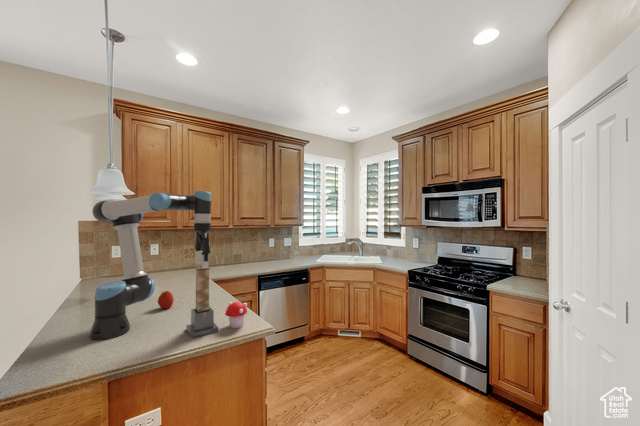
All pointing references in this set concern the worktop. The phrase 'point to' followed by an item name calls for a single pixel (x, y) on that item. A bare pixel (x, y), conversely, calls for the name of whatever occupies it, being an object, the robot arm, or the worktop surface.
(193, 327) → the sleeve
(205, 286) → the post
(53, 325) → the worktop surface
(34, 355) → the worktop surface
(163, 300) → the apple
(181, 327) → the worktop surface
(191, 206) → the robot arm
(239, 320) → the mushroom
